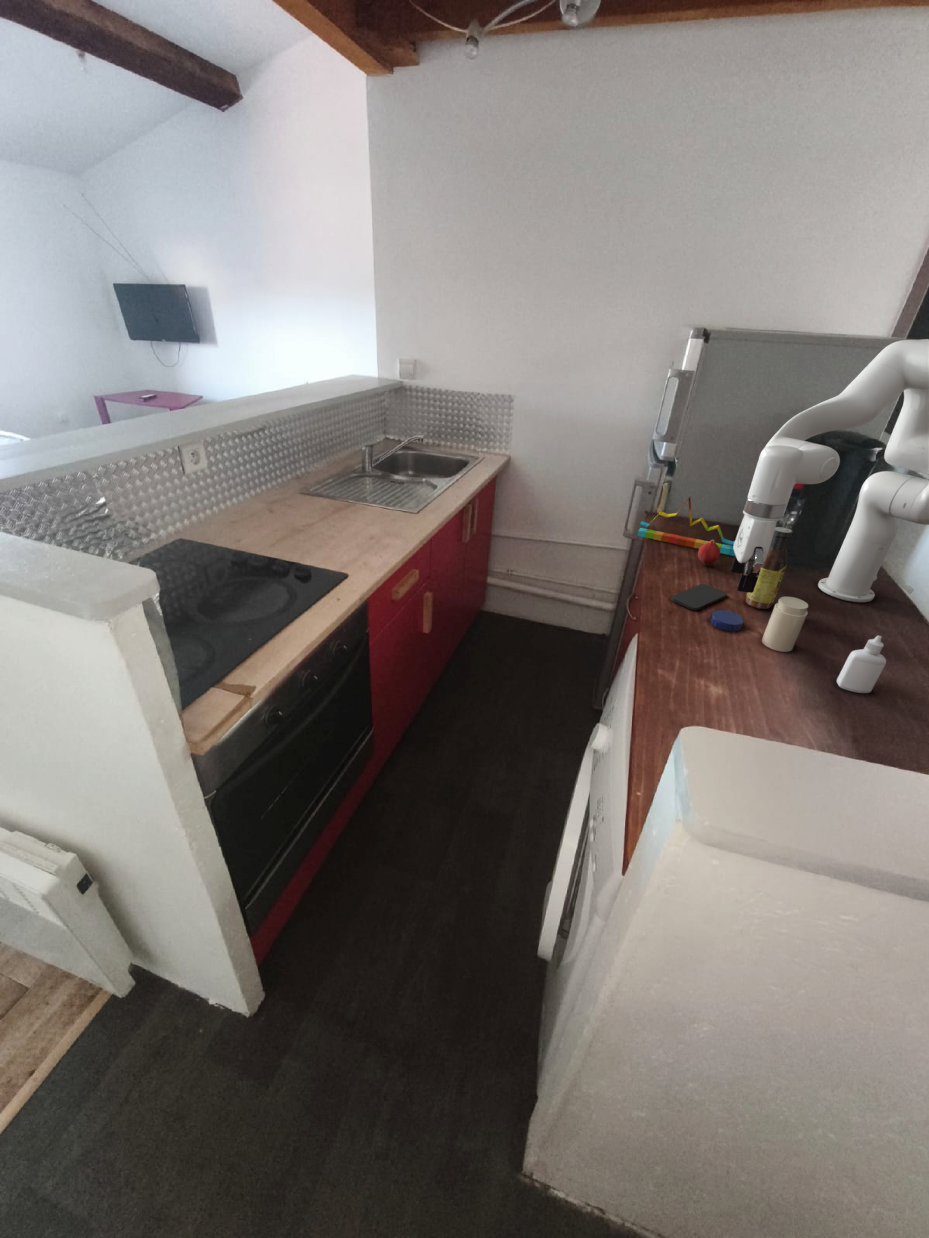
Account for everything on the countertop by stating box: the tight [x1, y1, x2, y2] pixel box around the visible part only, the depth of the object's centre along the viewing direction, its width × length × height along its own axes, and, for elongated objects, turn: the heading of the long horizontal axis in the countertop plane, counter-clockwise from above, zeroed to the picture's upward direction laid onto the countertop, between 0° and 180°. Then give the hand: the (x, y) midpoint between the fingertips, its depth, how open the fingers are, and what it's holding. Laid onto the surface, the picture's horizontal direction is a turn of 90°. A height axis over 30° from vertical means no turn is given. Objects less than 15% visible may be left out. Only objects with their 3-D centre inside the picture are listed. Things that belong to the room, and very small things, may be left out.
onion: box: [697, 539, 721, 566], centre depth 148 cm, size 6×6×8 cm
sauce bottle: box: [745, 526, 793, 610], centre depth 124 cm, size 7×6×20 cm
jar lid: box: [710, 609, 745, 632], centre depth 120 cm, size 7×7×2 cm
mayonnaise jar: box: [761, 596, 809, 653], centre depth 111 cm, size 6×6×11 cm
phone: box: [671, 583, 728, 611], centre depth 131 cm, size 7×1×15 cm
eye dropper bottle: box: [836, 635, 887, 694], centre depth 97 cm, size 4×6×12 cm
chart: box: [637, 496, 736, 557], centre depth 160 cm, size 30×3×15 cm, turn 59°
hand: (741, 581), depth 115 cm, fingers open, 9 cm apart
